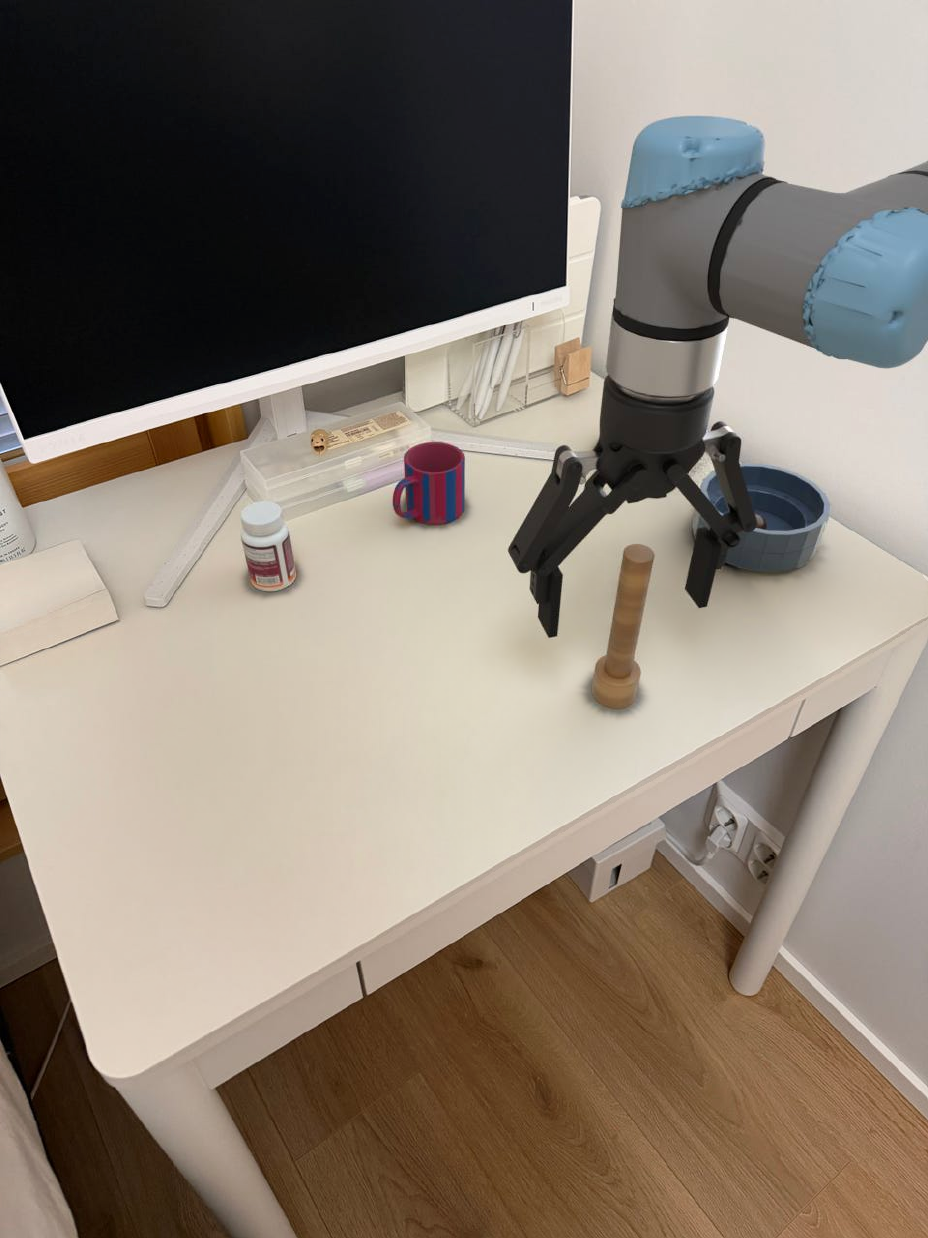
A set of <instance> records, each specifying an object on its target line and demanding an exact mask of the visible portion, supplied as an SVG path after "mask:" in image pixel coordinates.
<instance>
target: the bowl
mask: <svg viewBox="0 0 928 1238" xmlns="http://www.w3.org/2000/svg"><path fill="white" fill-rule="evenodd" d="M739 463H740V466H741V470H742V473H743V476H744V480H745V483H746V486H747V490H748V493H749V496H750V500H751V503H752V506H753V510H754V513H756V514H759V515H761V516H762V517H763V518H764V519H765V521H766V523H767V530H764V529H759V528H755V530H753V531H752V532H745V531H744V530H743V531H741V532H739V533H737V535H738V536H739V537H740V543H739V544H738V545H737V546H736V547H734V548H728V552H727V554H726V555H727V556H726V560H725V563H726V564H728V565H731V566H733V567H735V568H739V569H743V570H748V571H752V572H758V573H759V572H761V573H781V572H787V571H792V570H796V569H798V568H800V567H802V566H804V565H806V564H808V563H809V562H810V561H812V559H813V558H814V557H815V556H816V554H817V552H818V550H819V547H820V544H821V541H822V540H823V536H824V533H825V530H826V528H827V524H828V521H829V519H830V516H831V508H832V507H831V506H832V505H831V502H830V500H829V498H828V495H827V493H826V491H824V490H822V489H821V487H819V485H817V484H816V482H814V481H812V480H811V479H809V478H807V477H805V476H804V475H802V474H800V473H799V472H794V471H793V470H789V469H788V468H784V467H781V466H776V465H771V464H767V463H757V462H755V463H754V462H752V463H751V462H739ZM699 488H700V489H701V491H702V492H703V493H704V495H705V496H706V497H707V498H708V499H709V501H710V502H711V503H712V504H713V506H714V507H715V508H716V509H717V510H718V512H719V513H720V514H721V515H724V514H726V513H728V509H727V506H726V503H725V499H724V496H723V493H722V490H721V487H720V484H719V481H718V478H717V475H716V472H715V469H713V470H712V471H711V472H709V473H708V474H707V475H706V476H705V477H704V478H703V479H702V481H701V485H700V487H699ZM702 527H707V529H708V530H710V526H709V525H708V524H707V522H706V521H705V520H704V519H703V518H702V516H701V515H700V514H699V513H698V512H697V511H696V509H695V508H694V514H693V518H692V523H691V529H692V533H693V536H694V539H696V535H697V530H698V528H702Z"/></svg>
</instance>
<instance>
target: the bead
mask: <svg viewBox="0 0 928 1238" xmlns="http://www.w3.org/2000/svg"><path fill="white" fill-rule="evenodd" d="M755 516H756V520H757V527H756V528H759V529H764V530H767V523H766V521H765V519H764V518H763V517H762V516H761V515H759V514H756V513H755Z"/></svg>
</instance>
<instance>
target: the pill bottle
mask: <svg viewBox="0 0 928 1238" xmlns="http://www.w3.org/2000/svg"><path fill="white" fill-rule="evenodd" d="M239 516H240V521H241V526H242V528H241V531H240V540H241V544H242V548H243V551H244V553H243V554H244V557H245V562H246V566H247V571H248V576H249V579H250V582H251V584H252V586H254V588H255V589H257V590H259V591H263V592H276V591H281V590H284V589H286V588H287V587H289V586H291V585H292V584H293V583H294V581H295V580H296V577H297V572H296V571H297V570H296V564H295V559H294V553H293V547H292V542H291V541H292V540H291V534H290V529H289V525H288V524H287V523H286V521H284V516H283V511H282V508H281V506H280V505H279V504H277V503H276V502H273V501H270V500H260V501H255V502H251V503H249V504H247V505H246V506H244V507H243V508H242V510H241V511H240V515H239Z"/></svg>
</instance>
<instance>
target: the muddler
mask: <svg viewBox="0 0 928 1238" xmlns="http://www.w3.org/2000/svg"><path fill="white" fill-rule="evenodd" d="M654 560H655V552H654V550H653V549H652V548H651V547H649V546H647V545H645V544H641V543H632V544H629V545H627V546H626V547H625V548H624V549H623V552H622V558H621V565H620V570H619V576H618V582H617V589H616V594H615V599H614V600H615V601H614V606H613V613H612V617H611V618H612V619H611V625H610V629H609V630H610V631H609V637H608V643H607V649H606V654H604V655H602V656H601V657H600V658H598V659H597V661H596V662H595V665H594V672H593V678H592V684H591V694H592V696H593V698H594V700H595V701H596V702H598V704H600V705H602V706H604V707H606V708H610V709H624V708H627V707H629V706H630V705H632V704H633V703H634V702H635V700H636V698H637V692H638V688H639V684H640V680H641V679H640V678H641V674H642V672H641V671H642V670H641V667H640V665H639V663H638V662H637V661H636V660H635V657H636V651H637V646H638V641H639V638H640V637H639V636H640V631H641V626H642V621H643V615H644V611H645V610H644V609H645V606H646V601H647V595H648V591H649V587H650V586H649V585H650V580H651V575H652V569H653V565H654Z"/></svg>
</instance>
